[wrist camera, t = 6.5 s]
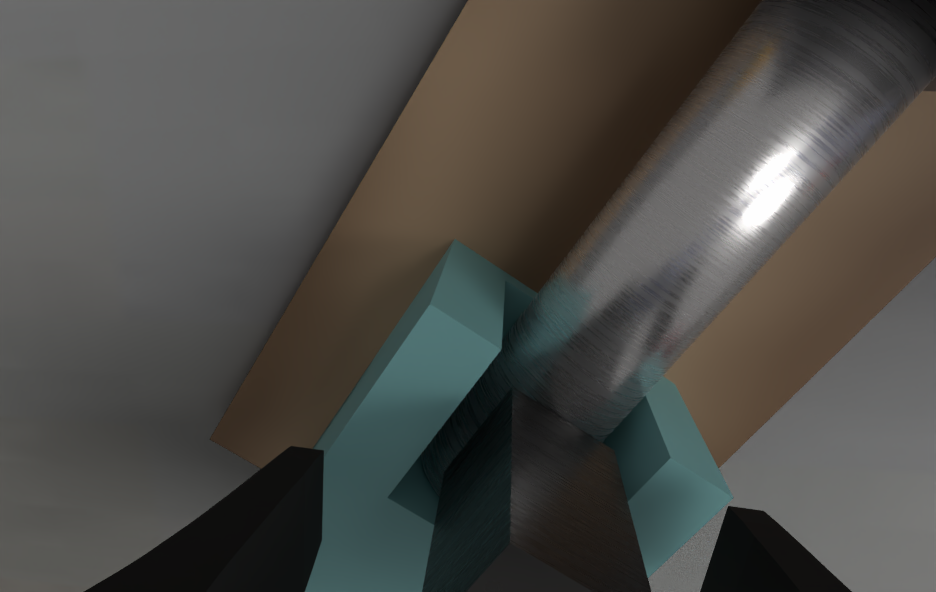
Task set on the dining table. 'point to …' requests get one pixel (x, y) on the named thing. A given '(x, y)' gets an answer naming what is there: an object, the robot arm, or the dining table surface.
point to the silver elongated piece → (659, 290)
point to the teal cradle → (431, 404)
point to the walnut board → (580, 213)
